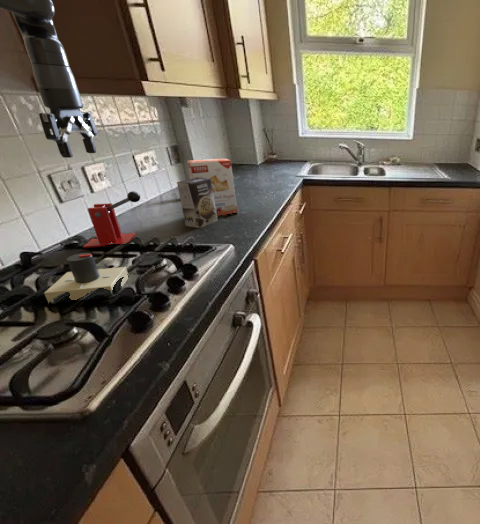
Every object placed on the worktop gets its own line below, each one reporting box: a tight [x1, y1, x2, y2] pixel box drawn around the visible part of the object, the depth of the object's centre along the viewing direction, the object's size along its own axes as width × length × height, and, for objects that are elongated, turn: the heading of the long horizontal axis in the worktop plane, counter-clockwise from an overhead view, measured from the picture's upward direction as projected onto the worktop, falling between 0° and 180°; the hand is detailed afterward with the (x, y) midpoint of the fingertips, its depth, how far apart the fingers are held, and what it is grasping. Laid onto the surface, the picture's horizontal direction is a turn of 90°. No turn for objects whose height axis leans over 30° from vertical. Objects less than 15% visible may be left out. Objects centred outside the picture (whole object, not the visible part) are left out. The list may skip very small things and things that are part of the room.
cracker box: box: [186, 158, 239, 217], centre depth 126 cm, size 14×6×21 cm, turn 126°
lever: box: [102, 190, 141, 213], centre depth 98 cm, size 13×3×3 cm, turn 108°
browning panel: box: [43, 266, 129, 304], centre depth 76 cm, size 12×10×3 cm
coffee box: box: [176, 178, 219, 229], centre depth 115 cm, size 9×6×16 cm
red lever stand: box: [82, 202, 138, 249], centre depth 99 cm, size 11×9×12 cm
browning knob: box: [66, 252, 100, 283], centre depth 74 cm, size 4×4×6 cm
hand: (80, 155), depth 88 cm, fingers open, 8 cm apart
